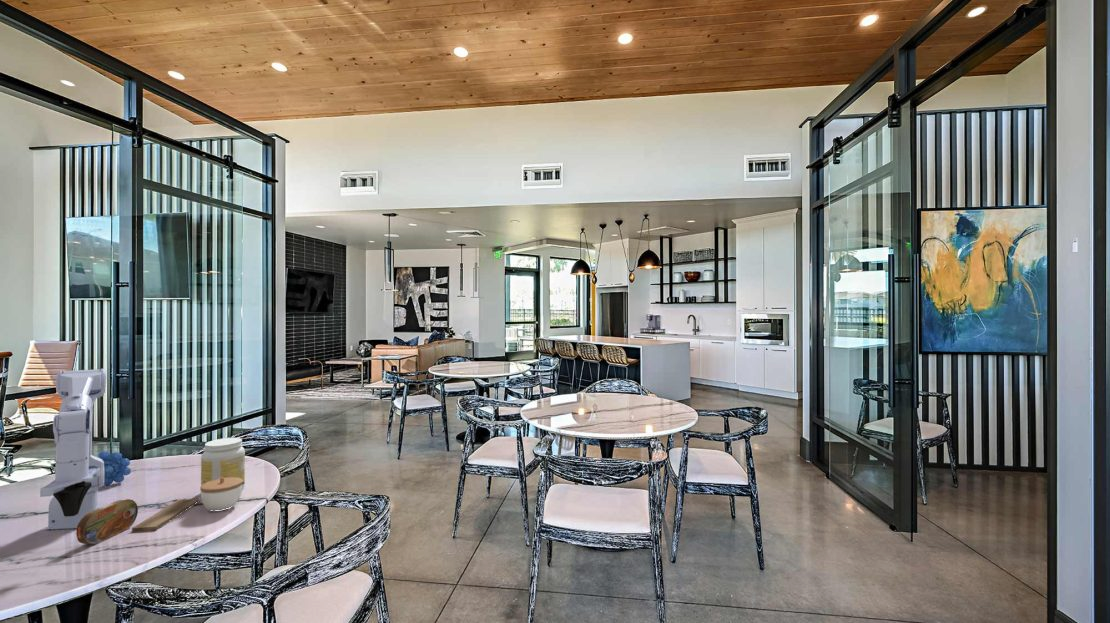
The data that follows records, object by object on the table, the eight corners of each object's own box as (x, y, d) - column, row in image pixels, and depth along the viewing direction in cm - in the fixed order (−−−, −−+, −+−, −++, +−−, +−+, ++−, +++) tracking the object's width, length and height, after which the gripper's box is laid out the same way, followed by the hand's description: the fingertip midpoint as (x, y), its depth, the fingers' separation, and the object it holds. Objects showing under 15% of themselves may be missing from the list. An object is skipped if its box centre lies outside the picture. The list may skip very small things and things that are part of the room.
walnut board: (132, 531, 129) (132, 527, 129) (178, 503, 149) (178, 499, 149) (156, 530, 130) (156, 526, 130) (199, 502, 149) (199, 498, 149)
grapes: (82, 492, 157) (82, 456, 157) (86, 486, 162) (87, 451, 162) (128, 485, 164) (129, 450, 164) (131, 479, 169) (132, 446, 169)
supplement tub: (248, 483, 167) (249, 435, 167) (239, 495, 155) (240, 444, 156) (207, 487, 162) (208, 438, 162) (194, 500, 151) (195, 448, 151)
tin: (84, 550, 119) (85, 517, 119) (72, 550, 119) (73, 516, 119) (138, 524, 134) (139, 494, 134) (128, 524, 134) (128, 494, 134)
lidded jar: (193, 517, 138) (193, 485, 139) (209, 503, 149) (209, 473, 149) (234, 513, 141) (235, 482, 141) (247, 499, 152) (248, 470, 152)
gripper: (65, 468, 108) (64, 527, 108) (113, 450, 123) (112, 502, 123) (30, 469, 107) (28, 529, 107) (82, 451, 122) (81, 504, 121)
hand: (71, 515), depth 115 cm, fingers closed
